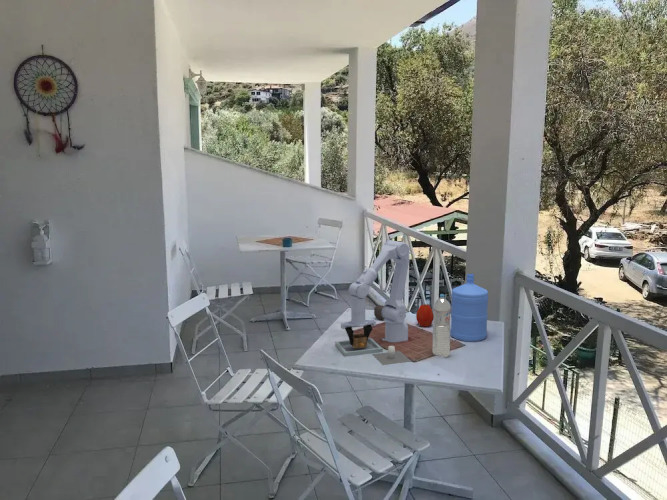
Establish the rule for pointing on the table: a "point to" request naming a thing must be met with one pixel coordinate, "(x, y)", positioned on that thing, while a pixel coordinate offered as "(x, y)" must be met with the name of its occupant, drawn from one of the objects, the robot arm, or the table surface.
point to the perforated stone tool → (378, 312)
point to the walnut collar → (359, 341)
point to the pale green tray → (359, 352)
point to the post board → (392, 361)
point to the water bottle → (441, 327)
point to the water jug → (469, 311)
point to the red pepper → (424, 315)
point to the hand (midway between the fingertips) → (358, 343)
